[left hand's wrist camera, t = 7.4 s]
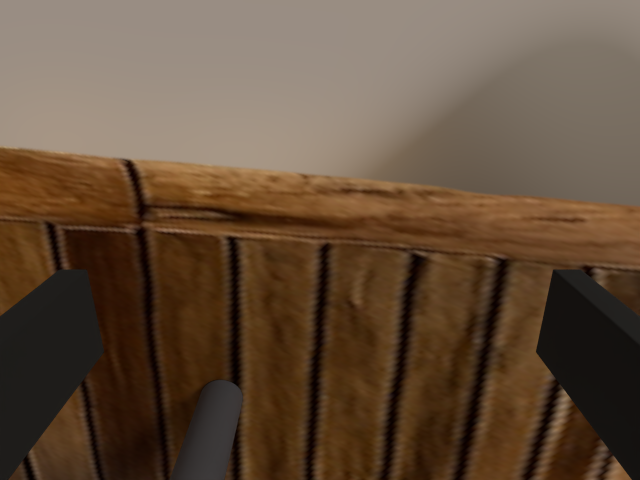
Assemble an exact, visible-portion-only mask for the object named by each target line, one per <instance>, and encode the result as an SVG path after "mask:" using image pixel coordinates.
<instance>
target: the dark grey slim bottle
mask: <svg viewBox="0 0 640 480" xmlns="http://www.w3.org/2000/svg"><path fill="white" fill-rule="evenodd" d="M242 401H243V395H242V392H241V390H240V389H239V388H238V387H237V386H236V385H235V384H233V383H232V382H229V381H226V380H215V381H212V382H210V383H208V384H207V385H205V386H204V388H203V389H202V392H201V394H200V397H199V400H198V403H197V406H196V408H195V411H194V414H193V417H192V419H191V422H190V425H189V428H188V430H187V433H186V436H185V439H184V441H183V444H182V447H181V450H180V453H179V455H178V458H177V461H176V464H175V466H174V469H173V472H172V475H171V477H170V480H224V479H225V475H226V470H227V466H228V462H229V457H230V453H231V449H232V444H233V440H234V436H235V431H236V427H237V423H238V418H239V414H240V410H241V405H242Z"/></svg>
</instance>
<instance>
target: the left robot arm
mask: <svg viewBox="0 0 640 480" xmlns="http://www.w3.org/2000/svg"><path fill="white" fill-rule="evenodd" d="M103 353H104V349H103V345H102V340H101V335H100V330H99V326H98V321H97V316H96V311H95V306H94V302H93V297H92V292H91V287H90V283H89V278H88V273H87V270H59V271H57V272H56V273H55V274H53V275H52V276H51V277H50V278H48V279H47V280H46V281H45V282H43V283H42V284H41V285H39V286H38V287H37V288H36V289H34V290H33V291H32V292H31V293H29V294H28V295H27V296H26V297H24V298H23V299H22V300H20V301H19V302H18V303H17V304H15V305H14V306H13V307H12V308H10V309H9V310H8V311H7V312H5V313H4V314H3V315H1V316H0V480H8V479H9V478H10V477H11V475H12V474H13V473H14V471H15V470H16V469H17V467H18V466H19V465H20V463H21V462H22V461H23V459H24V458H25V457H26V455H27V454H28V453H29V451H30V450H31V449H32V447H33V446H34V445H35V443H36V442H37V441H38V439H39V438H40V437H41V435H42V434H43V433H44V431H45V430H46V429H47V427H48V426H49V425H50V423H51V422H52V421H53V419H54V418H55V417H56V415H57V414H58V413H59V411H60V410H61V409H62V407H63V406H64V405H65V403H66V402H67V401H68V399H69V398H70V397H71V395H72V394H73V393H74V391H75V390H76V389H77V387H78V386H79V385H80V383H81V382H82V381H83V379H84V378H85V377H86V375H87V374H88V373H89V371H90V370H91V369H92V367H93V366H94V365H95V363H96V362H97V361H98V359H99V358H100V357H101V355H102V354H103ZM536 353H537V354H538V355H539V357H540V358H541V359H542V361H543V362H544V363H545V365H546V366H547V367H548V369H549V370H550V371H551V373H552V374H553V375H554V377H555V378H556V379H557V381H558V382H559V383H560V385H561V386H562V387H563V389H564V390H565V391H566V393H567V394H568V395H569V397H570V398H571V399H572V401H573V402H574V403H575V405H576V406H577V407H578V409H579V410H580V411H581V413H582V414H583V415H584V417H585V418H586V419H587V421H588V422H589V423H590V425H591V426H592V427H593V429H594V430H595V431H596V433H597V434H598V435H599V437H600V438H601V439H602V441H603V442H604V443H605V445H606V446H607V447H608V449H609V450H610V451H611V453H612V454H613V455H614V457H615V458H616V459H617V461H618V462H619V463H620V465H621V466H622V467H623V469H624V470H625V471H626V473H627V474H628V475H629V477H630V478H631V479H632V480H640V316H639V315H637V314H636V313H635V312H633V311H632V310H631V309H630V308H628V307H627V306H626V305H625V304H623V303H622V302H621V301H620V300H618V299H617V298H616V297H614V296H613V295H612V294H611V293H609V292H608V291H607V290H606V289H604V288H603V287H602V286H601V285H599V284H598V283H597V282H595V281H594V280H593V279H592V278H590V277H589V276H588V275H587V274H585V273H584V272H583V271H581V270H553V273H552V278H551V283H550V287H549V292H548V297H547V302H546V306H545V311H544V316H543V321H542V326H541V330H540V335H539V340H538V345H537V349H536Z"/></svg>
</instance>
